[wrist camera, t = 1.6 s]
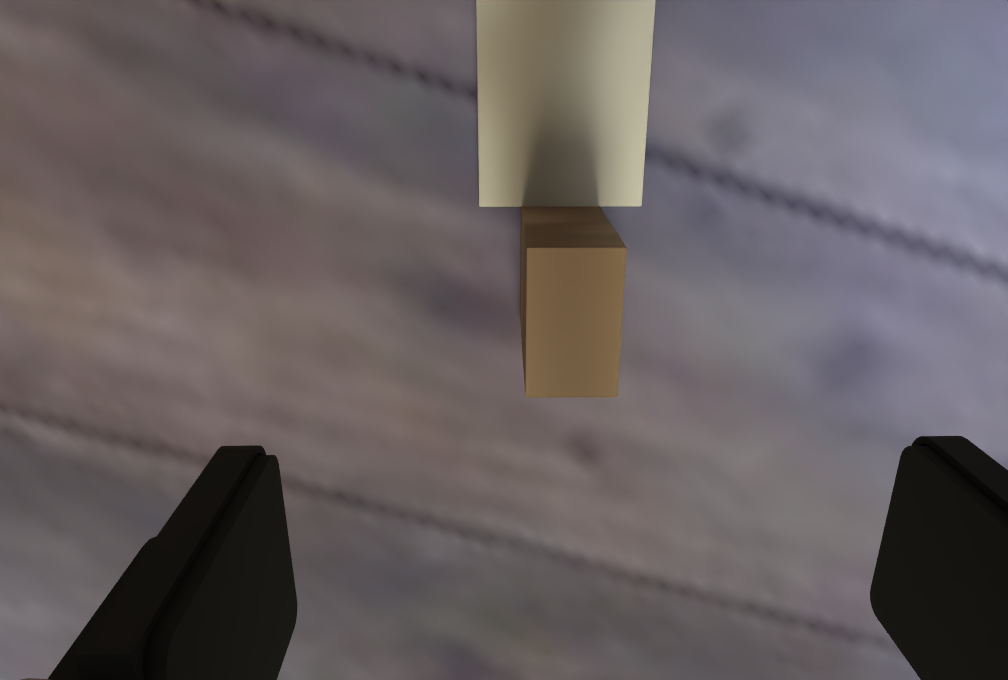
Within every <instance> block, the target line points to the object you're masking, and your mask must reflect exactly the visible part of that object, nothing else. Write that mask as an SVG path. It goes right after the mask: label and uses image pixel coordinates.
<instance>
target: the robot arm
mask: <svg viewBox="0 0 1008 680" xmlns="http://www.w3.org/2000/svg"><path fill="white" fill-rule="evenodd" d="M870 601H871V605H872V608H873V611H874V613H875V615H876V617H877V619H878V620H879V621H880V623H881V624H882V626H883V627H884V628H885V630H886V631H887V633H888V634H889V635H890V637H891V638H892V640H893V641H894V642H895V644H896V645H897V647H898V648H899V649H900V651H901V652H902V654H903V655H904V656H905V658H906V659H907V661H908V662H909V663H910V665H911V666H912V668H913V669H914V671H915V672H916V673H917V675H918V676H919V678H920V679H921V680H1008V470H1007V469H1005V468H1004V467H1003V466H1001V465H1000V464H999V463H997V462H996V461H995V460H994V459H992V458H991V457H990V456H988V455H987V454H986V453H984V452H983V451H982V450H981V449H979V448H978V447H977V446H975V445H974V444H973V443H971V442H970V441H969V440H968V439H966V438H964V437H962V436H921V437H919V438H917V439H916V440H915V441H914V442H913V443H912V446H908V447H906V448H905V449H904V450H903V451H902V454H901V457H900V461H899V465H898V470H897V474H896V479H895V483H894V487H893V492H892V496H891V501H890V505H889V510H888V514H887V518H886V523H885V527H884V532H883V536H882V541H881V545H880V549H879V554H878V558H877V563H876V567H875V572H874V576H873V580H872V585H871V590H870ZM296 617H297V597H296V589H295V582H294V574H293V567H292V559H291V552H290V544H289V537H288V529H287V522H286V514H285V507H284V500H283V492H282V485H281V477H280V470H279V463H278V459H277V457H276V456H275V455H266V453H265V450H264V448H263V447H262V446H221V447H220V448H219V449H218V450H217V452H216V453H215V454H214V456H213V457H212V459H211V460H210V461H209V463H208V464H207V466H206V467H205V469H204V470H203V471H202V473H201V474H200V476H199V477H198V479H197V480H196V481H195V483H194V484H193V486H192V487H191V488H190V490H189V491H188V493H187V494H186V496H185V497H184V498H183V500H182V501H181V503H180V504H179V506H178V507H177V508H176V510H175V511H174V513H173V514H172V515H171V517H170V518H169V520H168V521H167V523H166V524H165V525H164V527H163V528H162V530H161V531H160V532H159V534H158V535H157V537H154V538H151V539H149V540H148V541H147V543H146V544H145V545H144V546H143V547H142V548H141V550H140V551H139V552H138V554H137V555H136V557H135V558H134V559H133V561H132V562H131V564H130V565H129V566H128V568H127V569H126V571H125V572H124V573H123V575H122V576H121V577H120V579H119V580H118V582H117V583H116V584H115V586H114V587H113V589H112V590H111V591H110V593H109V594H108V596H107V597H106V598H105V600H104V601H103V603H102V604H101V605H100V607H99V608H98V610H97V611H96V612H95V614H94V615H93V616H92V618H91V619H90V621H89V622H88V623H87V625H86V626H85V628H84V629H83V630H82V632H81V633H80V635H79V636H78V637H77V639H76V640H75V642H74V643H73V644H72V646H71V647H70V649H69V650H68V651H67V653H66V654H65V655H64V657H63V658H62V660H61V661H60V662H59V664H58V665H57V667H56V668H55V669H54V671H53V672H52V674H51V675H50V676H49V678H48V679H33V678H27V679H22V680H277V677H278V674H279V671H280V668H281V665H282V662H283V660H284V657H285V654H286V651H287V648H288V645H289V642H290V639H291V636H292V633H293V630H294V627H295V623H296Z"/></svg>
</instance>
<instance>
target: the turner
mask: <svg viewBox="0 0 1008 680" xmlns="http://www.w3.org/2000/svg"><path fill="white" fill-rule="evenodd" d="M476 6H477V72H478V138H479V205H480V207H521V273H520V324H521V338H522V353H523V367H524V382H525V396H526V398H543V397H617V395H618V379H619V363H620V347H621V331H622V315H623V299H624V283H625V267H626V251H627V247H626V246H625V244H624V243H623V241H622V240H621V238H620V237H619V235H618V234H617V232H616V231H615V229H614V228H613V226H612V225H611V223H610V222H609V220H608V219H607V217H606V216H605V214H604V213H603V211H602V210H601V208H600V207H599V206H641V203H642V188H643V174H644V159H645V145H646V130H647V116H648V101H649V87H650V72H651V58H652V43H653V28H654V14H655V0H476Z"/></svg>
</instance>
